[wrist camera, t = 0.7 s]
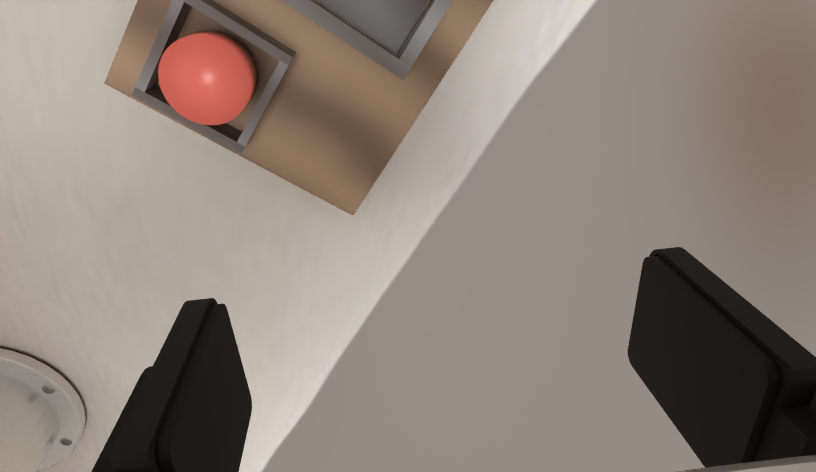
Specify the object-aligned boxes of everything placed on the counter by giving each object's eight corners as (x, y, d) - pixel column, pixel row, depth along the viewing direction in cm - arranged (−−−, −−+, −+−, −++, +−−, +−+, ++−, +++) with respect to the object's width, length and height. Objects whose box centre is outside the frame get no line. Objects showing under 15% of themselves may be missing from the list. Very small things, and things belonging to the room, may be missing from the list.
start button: (236, 128, 29) (227, 140, 27) (159, 86, 28) (144, 96, 26) (271, 60, 28) (265, 67, 26) (192, 12, 26) (179, 16, 24)
